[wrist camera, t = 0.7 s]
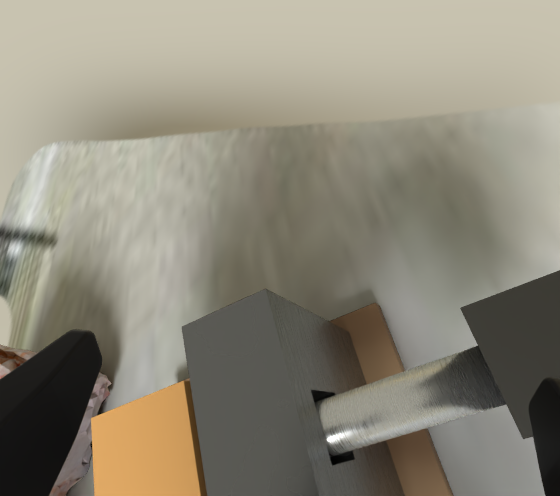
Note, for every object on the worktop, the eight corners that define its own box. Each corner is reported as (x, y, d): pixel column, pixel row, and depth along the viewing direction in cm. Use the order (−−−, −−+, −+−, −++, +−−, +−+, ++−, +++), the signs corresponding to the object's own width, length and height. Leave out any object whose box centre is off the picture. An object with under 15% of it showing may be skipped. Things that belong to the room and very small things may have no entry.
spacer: (288, 523, 19) (210, 561, 14) (198, 546, 21) (98, 588, 16) (258, 388, 22) (183, 380, 17) (180, 417, 23) (90, 418, 18)
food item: (71, 343, 36) (-58, 323, 28) (135, 375, 32) (4, 361, 24) (0, 514, 34) (-167, 547, 25) (59, 573, 29) (-117, 634, 21)
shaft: (645, 399, 14) (686, 394, 11) (161, 533, 20) (92, 556, 17) (576, 290, 16) (593, 257, 13) (152, 443, 22) (88, 448, 19)
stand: (472, 546, 20) (439, 659, 11) (207, 601, 24) (22, 713, 15) (379, 306, 25) (304, 244, 16) (178, 387, 30) (29, 374, 21)
